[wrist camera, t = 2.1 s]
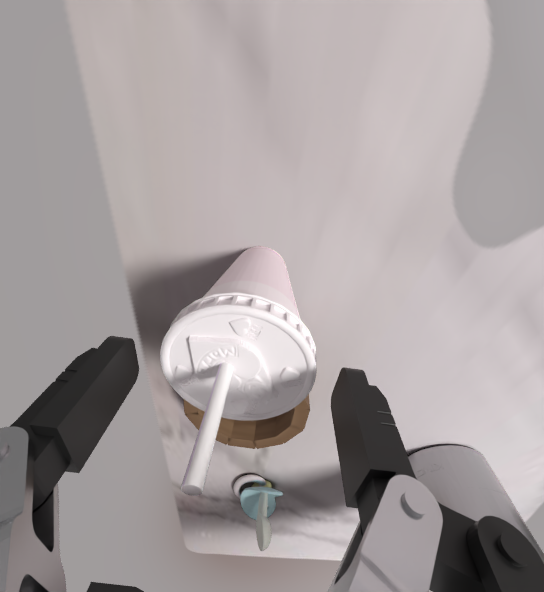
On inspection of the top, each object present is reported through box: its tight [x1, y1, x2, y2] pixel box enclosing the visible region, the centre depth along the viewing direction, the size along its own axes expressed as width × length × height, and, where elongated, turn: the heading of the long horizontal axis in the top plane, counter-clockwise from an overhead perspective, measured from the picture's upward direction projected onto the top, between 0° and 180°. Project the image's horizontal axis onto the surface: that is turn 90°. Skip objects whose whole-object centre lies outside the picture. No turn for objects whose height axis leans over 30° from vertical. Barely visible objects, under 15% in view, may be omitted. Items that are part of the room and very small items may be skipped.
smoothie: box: [160, 246, 316, 496], centre depth 13 cm, size 6×6×14 cm
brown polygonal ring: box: [184, 394, 310, 449], centre depth 24 cm, size 10×10×3 cm
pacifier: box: [233, 474, 283, 551], centre depth 32 cm, size 7×6×6 cm
